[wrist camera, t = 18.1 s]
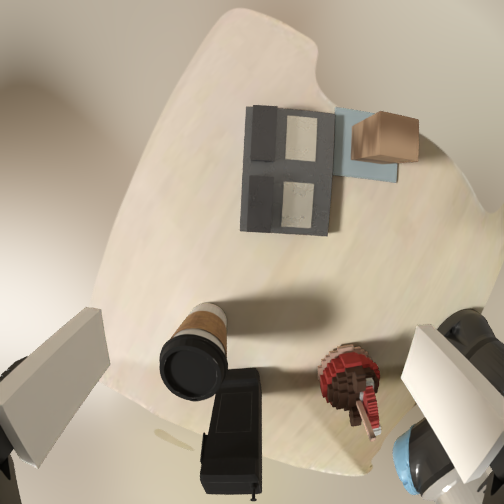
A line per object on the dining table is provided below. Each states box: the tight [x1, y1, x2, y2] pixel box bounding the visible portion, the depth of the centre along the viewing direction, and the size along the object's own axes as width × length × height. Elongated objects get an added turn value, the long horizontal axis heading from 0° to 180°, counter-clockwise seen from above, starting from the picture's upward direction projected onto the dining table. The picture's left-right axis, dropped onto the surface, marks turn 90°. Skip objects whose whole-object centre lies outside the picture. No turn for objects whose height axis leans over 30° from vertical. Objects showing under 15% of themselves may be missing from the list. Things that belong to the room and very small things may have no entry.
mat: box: [332, 107, 397, 183], centre depth 40 cm, size 10×10×1 cm
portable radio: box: [200, 368, 262, 501], centre depth 37 cm, size 8×6×25 cm
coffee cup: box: [159, 303, 228, 401], centre depth 39 cm, size 8×8×15 cm
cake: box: [318, 344, 381, 442], centre depth 40 cm, size 11×9×18 cm
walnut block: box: [351, 111, 419, 164], centre depth 34 cm, size 5×5×11 cm
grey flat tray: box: [240, 105, 335, 236], centre depth 39 cm, size 17×12×5 cm
